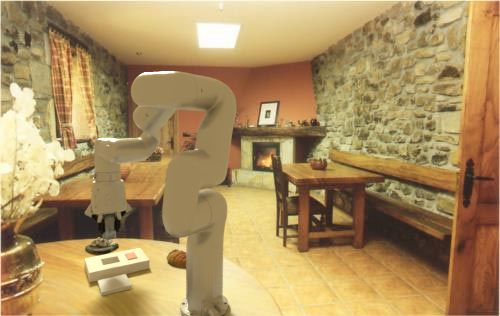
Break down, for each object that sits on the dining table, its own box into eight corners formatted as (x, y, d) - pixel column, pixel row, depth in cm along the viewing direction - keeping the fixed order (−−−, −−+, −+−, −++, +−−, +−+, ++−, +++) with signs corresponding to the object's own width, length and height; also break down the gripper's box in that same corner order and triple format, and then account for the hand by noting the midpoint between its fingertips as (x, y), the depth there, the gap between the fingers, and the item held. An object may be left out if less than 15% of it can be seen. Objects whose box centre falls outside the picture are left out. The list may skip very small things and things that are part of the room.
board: (149, 268, 106) (149, 259, 105) (89, 282, 96) (89, 271, 96) (140, 255, 116) (140, 246, 115) (84, 266, 106) (84, 257, 106)
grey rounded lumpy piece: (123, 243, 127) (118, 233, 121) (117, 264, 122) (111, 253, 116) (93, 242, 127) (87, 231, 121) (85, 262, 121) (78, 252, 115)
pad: (131, 288, 93) (131, 285, 93) (101, 295, 89) (101, 292, 89) (125, 276, 100) (125, 273, 100) (97, 283, 95) (97, 280, 95)
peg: (117, 238, 103) (116, 214, 102) (103, 240, 101) (103, 216, 100) (114, 234, 107) (114, 211, 106) (101, 236, 104) (101, 212, 103)
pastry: (196, 264, 110) (196, 253, 110) (180, 271, 105) (180, 259, 105) (180, 256, 116) (179, 246, 116) (164, 262, 111) (164, 252, 111)
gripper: (79, 180, 94) (81, 240, 96) (137, 176, 103) (138, 231, 105) (77, 176, 100) (79, 232, 102) (132, 173, 109) (133, 224, 111)
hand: (109, 231), depth 104 cm, fingers closed on peg, 4 cm apart
